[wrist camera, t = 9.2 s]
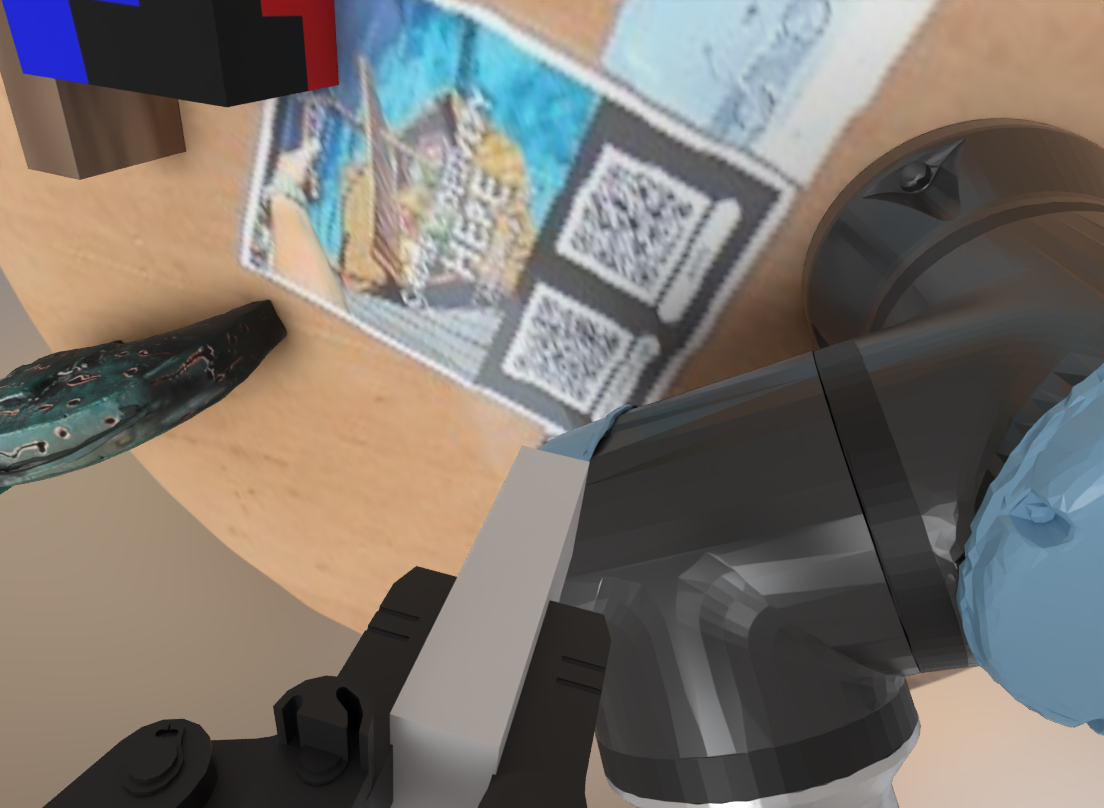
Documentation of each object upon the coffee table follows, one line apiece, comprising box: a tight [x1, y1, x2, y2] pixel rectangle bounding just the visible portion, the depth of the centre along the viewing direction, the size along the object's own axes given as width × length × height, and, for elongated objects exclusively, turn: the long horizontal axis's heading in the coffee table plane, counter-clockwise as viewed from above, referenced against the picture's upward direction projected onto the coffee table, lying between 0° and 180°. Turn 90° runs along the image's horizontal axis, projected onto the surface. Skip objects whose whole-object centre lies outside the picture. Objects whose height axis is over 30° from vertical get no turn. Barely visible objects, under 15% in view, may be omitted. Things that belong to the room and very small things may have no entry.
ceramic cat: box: [0, 300, 286, 494], centre depth 40 cm, size 20×6×20 cm, turn 108°
